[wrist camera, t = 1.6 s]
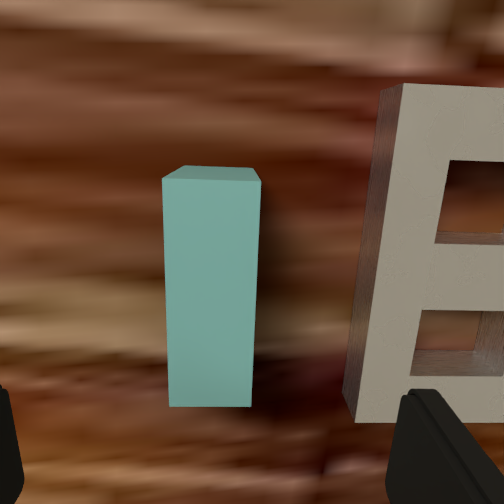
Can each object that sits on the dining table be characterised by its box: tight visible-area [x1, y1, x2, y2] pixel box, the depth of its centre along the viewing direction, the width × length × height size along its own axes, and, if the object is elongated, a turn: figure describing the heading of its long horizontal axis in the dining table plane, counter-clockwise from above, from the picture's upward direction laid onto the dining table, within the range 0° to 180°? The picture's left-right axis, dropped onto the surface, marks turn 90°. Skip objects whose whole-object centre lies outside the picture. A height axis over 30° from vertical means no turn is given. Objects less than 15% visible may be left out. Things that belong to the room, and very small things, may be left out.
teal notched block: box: [162, 166, 261, 407], centre depth 20 cm, size 11×4×7 cm, turn 178°
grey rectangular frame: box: [342, 83, 504, 423], centre depth 23 cm, size 20×12×3 cm, turn 178°
